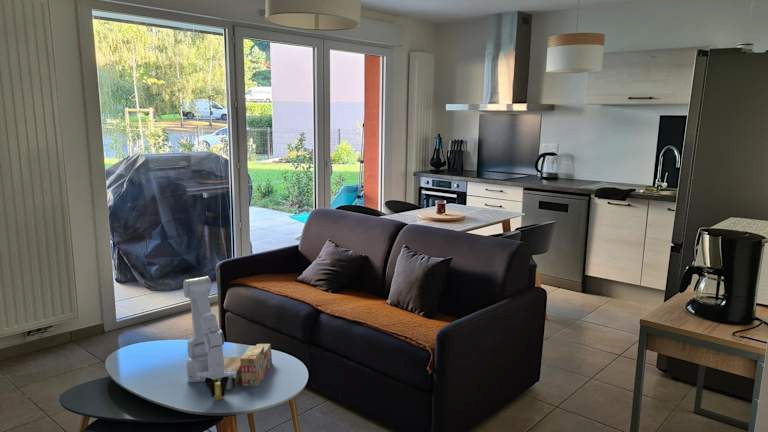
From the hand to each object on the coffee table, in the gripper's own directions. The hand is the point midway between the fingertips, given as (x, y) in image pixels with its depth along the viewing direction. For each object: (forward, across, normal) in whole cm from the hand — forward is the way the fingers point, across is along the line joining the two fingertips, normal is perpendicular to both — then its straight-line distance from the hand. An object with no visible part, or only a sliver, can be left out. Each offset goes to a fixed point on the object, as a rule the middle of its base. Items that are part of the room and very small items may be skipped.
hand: (218, 395), depth 206 cm
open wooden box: (+2, 0, +16) cm, 16 cm away
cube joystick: (+1, 0, +6) cm, 6 cm away
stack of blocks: (+2, +11, +20) cm, 23 cm away
